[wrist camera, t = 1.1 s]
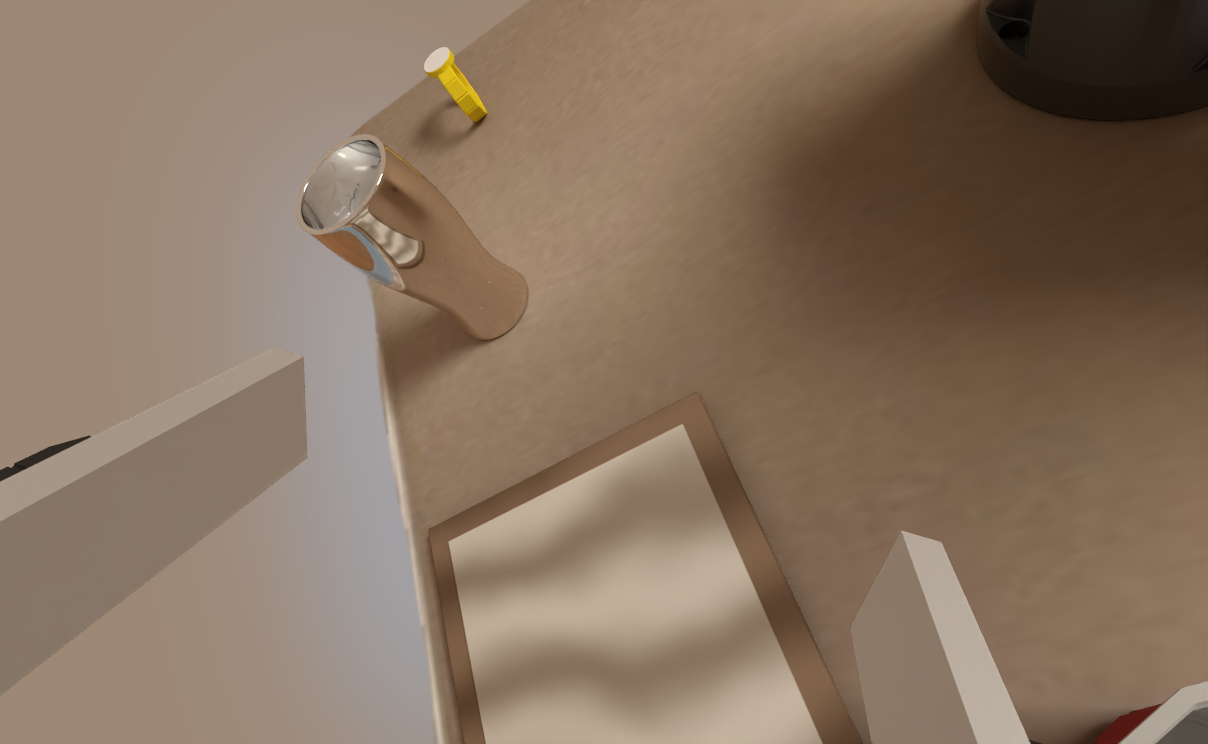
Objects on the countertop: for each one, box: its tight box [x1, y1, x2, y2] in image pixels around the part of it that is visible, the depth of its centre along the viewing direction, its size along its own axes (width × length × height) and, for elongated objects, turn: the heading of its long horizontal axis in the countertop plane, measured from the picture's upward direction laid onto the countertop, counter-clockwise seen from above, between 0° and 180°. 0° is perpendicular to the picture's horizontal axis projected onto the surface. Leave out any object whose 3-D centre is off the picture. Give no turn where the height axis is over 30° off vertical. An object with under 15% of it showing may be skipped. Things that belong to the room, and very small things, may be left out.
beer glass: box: [296, 134, 528, 340], centre depth 39 cm, size 7×7×15 cm
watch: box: [424, 47, 487, 122], centre depth 53 cm, size 6×3×6 cm, turn 26°
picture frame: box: [428, 392, 863, 744], centre depth 31 cm, size 24×20×1 cm
